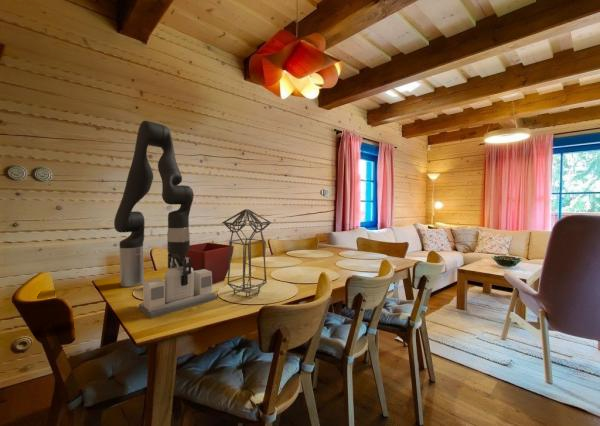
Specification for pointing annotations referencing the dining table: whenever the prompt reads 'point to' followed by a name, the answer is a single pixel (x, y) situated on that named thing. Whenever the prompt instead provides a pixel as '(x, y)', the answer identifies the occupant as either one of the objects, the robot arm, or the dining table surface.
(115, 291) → the dining table surface
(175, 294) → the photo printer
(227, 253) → the plant pot
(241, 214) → the geometric lantern
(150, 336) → the dining table surface
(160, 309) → the rail board
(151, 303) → the mounted modules
